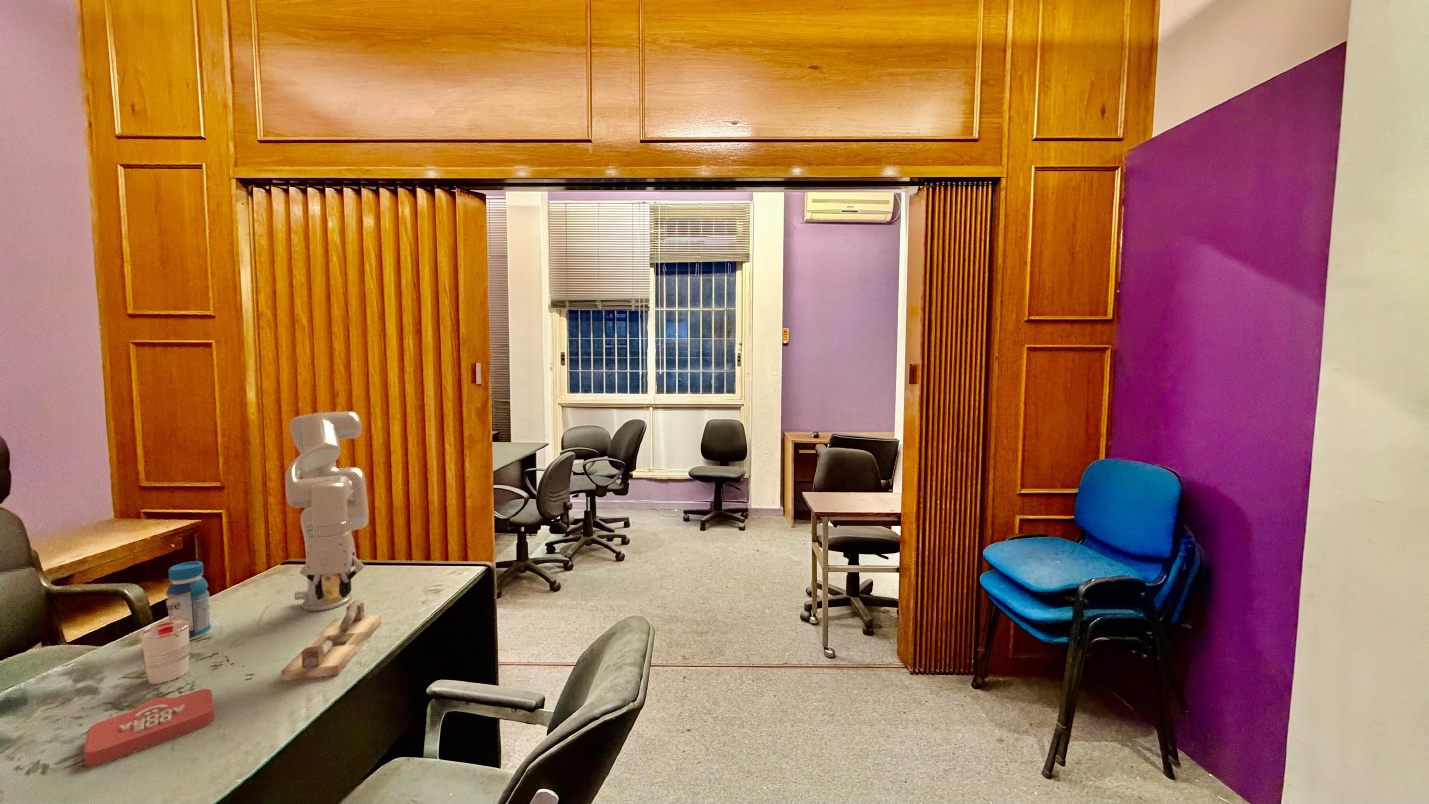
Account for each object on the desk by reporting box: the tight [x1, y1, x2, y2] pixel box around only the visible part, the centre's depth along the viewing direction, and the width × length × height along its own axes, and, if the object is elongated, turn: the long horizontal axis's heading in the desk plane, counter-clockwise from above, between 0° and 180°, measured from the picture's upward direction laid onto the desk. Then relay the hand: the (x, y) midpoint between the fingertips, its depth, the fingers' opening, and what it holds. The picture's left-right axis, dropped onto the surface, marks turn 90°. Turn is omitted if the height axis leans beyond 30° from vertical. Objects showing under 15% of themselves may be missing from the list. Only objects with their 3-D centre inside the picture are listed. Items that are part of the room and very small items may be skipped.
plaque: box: [83, 688, 215, 767], centre depth 110 cm, size 18×4×15 cm
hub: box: [321, 574, 346, 604], centre depth 138 cm, size 5×6×8 cm
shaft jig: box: [280, 599, 382, 682], centre depth 140 cm, size 12×26×8 cm, turn 12°
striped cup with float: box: [139, 620, 190, 685], centre depth 128 cm, size 10×8×12 cm
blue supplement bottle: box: [165, 560, 212, 641], centre depth 146 cm, size 8×8×20 cm
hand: (333, 595), depth 139 cm, fingers closed on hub, 5 cm apart
